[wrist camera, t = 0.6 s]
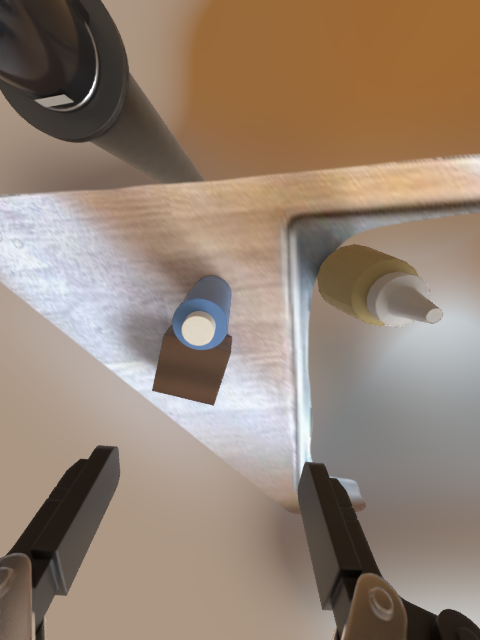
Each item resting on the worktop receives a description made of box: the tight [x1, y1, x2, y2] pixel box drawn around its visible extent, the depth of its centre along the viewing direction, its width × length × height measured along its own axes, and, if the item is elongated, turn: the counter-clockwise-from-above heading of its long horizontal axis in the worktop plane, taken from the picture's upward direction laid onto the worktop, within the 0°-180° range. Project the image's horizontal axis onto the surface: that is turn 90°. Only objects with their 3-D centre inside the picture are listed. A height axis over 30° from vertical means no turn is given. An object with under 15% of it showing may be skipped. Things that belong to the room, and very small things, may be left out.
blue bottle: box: [172, 276, 231, 350], centre depth 29 cm, size 5×5×14 cm
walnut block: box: [152, 324, 232, 405], centre depth 37 cm, size 9×9×5 cm
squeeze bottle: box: [318, 244, 443, 327], centre depth 26 cm, size 8×8×18 cm
